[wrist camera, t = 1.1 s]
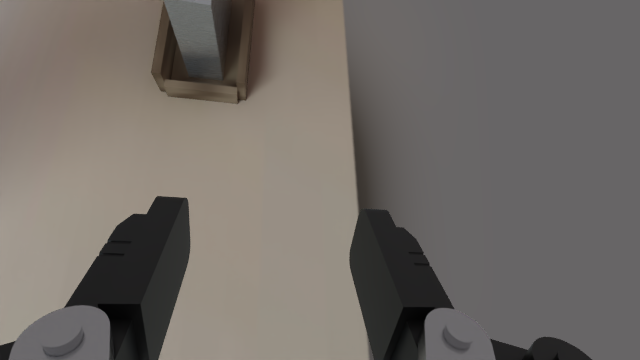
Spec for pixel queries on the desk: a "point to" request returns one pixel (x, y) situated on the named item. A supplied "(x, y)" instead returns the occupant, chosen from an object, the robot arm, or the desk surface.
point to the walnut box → (179, 84)
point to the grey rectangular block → (201, 34)
